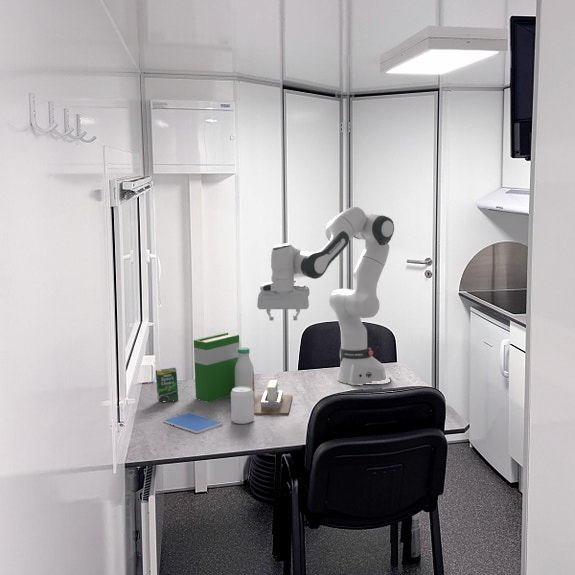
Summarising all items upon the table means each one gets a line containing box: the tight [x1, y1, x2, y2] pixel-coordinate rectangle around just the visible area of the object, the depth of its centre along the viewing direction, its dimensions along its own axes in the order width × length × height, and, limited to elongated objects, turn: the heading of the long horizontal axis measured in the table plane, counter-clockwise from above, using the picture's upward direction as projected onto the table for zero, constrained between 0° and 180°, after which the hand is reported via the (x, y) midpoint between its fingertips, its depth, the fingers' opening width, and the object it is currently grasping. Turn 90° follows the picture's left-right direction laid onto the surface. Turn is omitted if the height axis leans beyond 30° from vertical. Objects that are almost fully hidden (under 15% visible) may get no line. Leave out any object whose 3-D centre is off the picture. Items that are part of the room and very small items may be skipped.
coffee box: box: [155, 367, 179, 403], centre depth 295 cm, size 8×3×13 cm, turn 110°
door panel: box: [266, 379, 279, 401], centre depth 287 cm, size 3×10×8 cm, turn 176°
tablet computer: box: [163, 412, 223, 434], centre depth 269 cm, size 19×13×1 cm, turn 47°
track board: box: [254, 394, 293, 416], centre depth 288 cm, size 14×22×1 cm, turn 176°
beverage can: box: [230, 386, 255, 425], centre depth 270 cm, size 8×8×12 cm
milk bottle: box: [235, 346, 255, 398], centre depth 298 cm, size 8×8×20 cm
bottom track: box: [261, 390, 284, 410], centre depth 288 cm, size 7×15×3 cm, turn 176°
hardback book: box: [193, 332, 241, 403], centre depth 301 cm, size 18×7×24 cm, turn 137°
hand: (283, 320), depth 295 cm, fingers open, 8 cm apart
